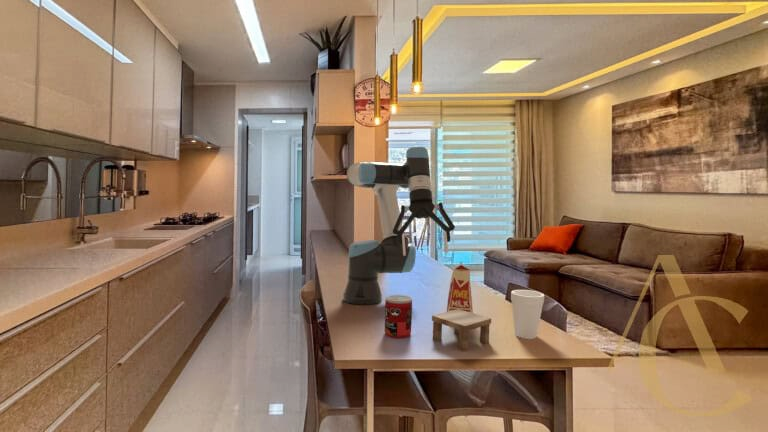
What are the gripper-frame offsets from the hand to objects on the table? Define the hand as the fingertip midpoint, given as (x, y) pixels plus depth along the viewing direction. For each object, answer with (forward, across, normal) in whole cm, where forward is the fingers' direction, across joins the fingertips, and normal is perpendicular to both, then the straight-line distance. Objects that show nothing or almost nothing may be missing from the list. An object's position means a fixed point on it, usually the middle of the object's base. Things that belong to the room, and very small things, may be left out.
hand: (425, 253), depth 134 cm
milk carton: (+21, +11, +16) cm, 28 cm away
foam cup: (+27, +28, +1) cm, 39 cm away
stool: (+27, +8, -6) cm, 29 cm away
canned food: (+25, -10, -3) cm, 27 cm away
